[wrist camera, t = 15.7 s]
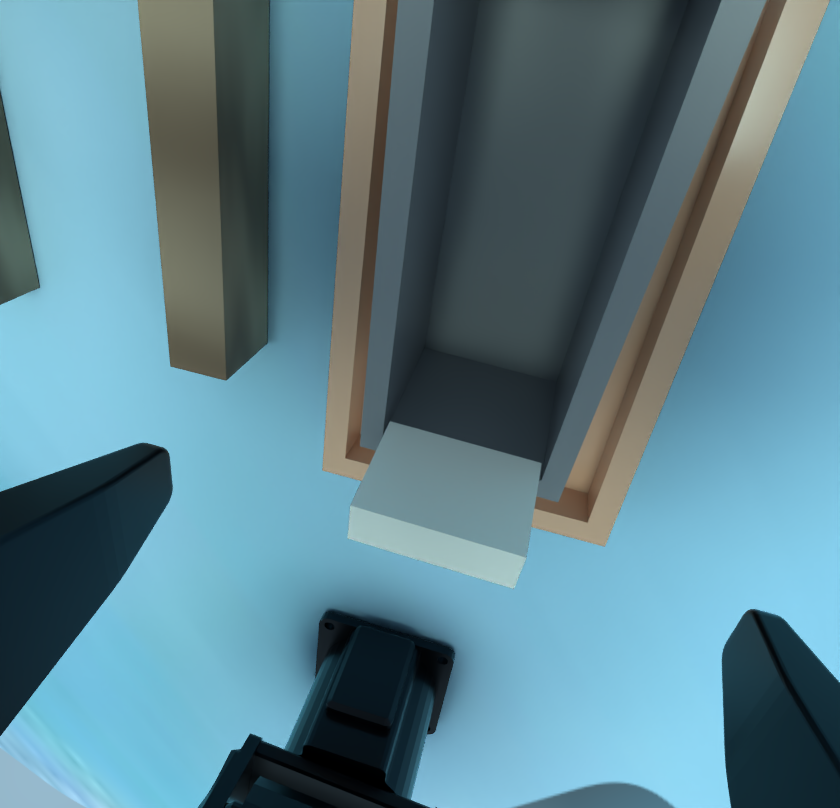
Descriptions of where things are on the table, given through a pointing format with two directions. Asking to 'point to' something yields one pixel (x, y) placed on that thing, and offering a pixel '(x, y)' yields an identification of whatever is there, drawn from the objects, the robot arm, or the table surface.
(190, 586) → the table surface
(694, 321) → the tray
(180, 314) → the dock
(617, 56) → the caddy
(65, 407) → the table surface
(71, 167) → the table surface
